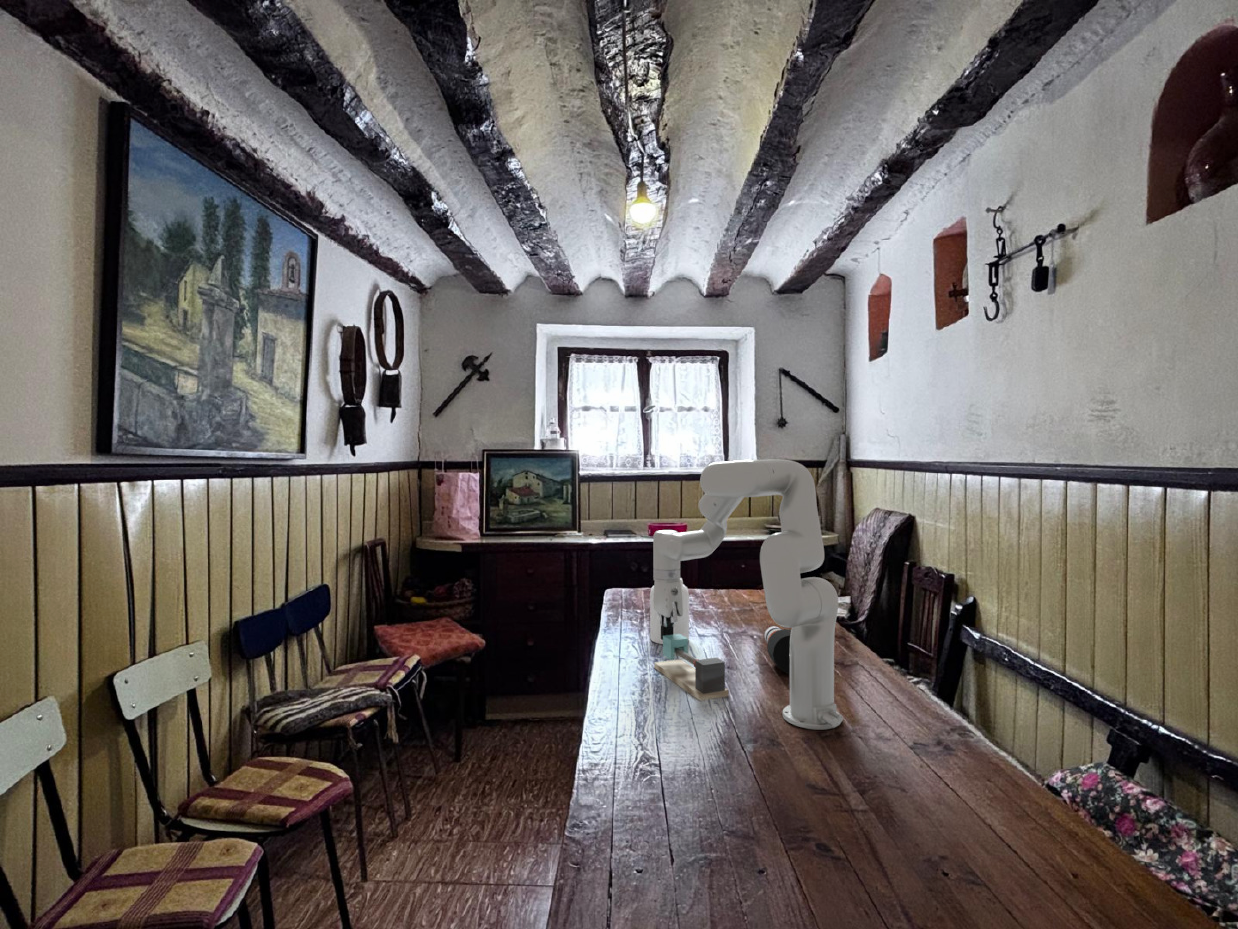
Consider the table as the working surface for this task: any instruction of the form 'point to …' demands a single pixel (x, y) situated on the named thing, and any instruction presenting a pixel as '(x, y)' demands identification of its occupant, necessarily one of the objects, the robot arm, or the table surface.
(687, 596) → the white jar
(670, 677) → the wooden slide rail
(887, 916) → the table surface
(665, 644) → the sleeve
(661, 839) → the table surface
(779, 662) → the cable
